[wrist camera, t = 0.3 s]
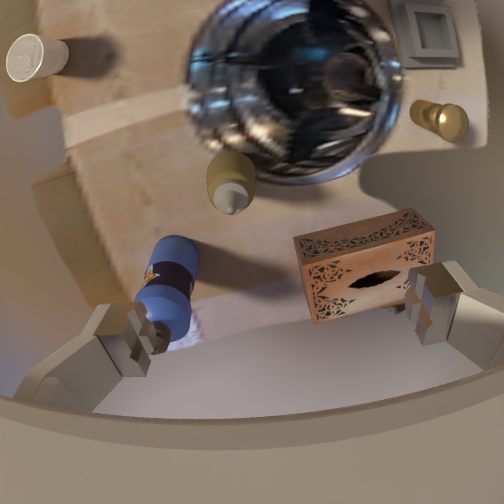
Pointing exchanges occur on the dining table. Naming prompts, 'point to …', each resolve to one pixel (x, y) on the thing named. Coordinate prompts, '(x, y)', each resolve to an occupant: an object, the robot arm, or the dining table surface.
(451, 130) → the gold stepped cylinder
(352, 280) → the tissue box cover
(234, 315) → the dining table surface
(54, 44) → the white cup
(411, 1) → the socket block
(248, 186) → the squeeze bottle
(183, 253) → the water bottle
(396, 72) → the dining table surface
